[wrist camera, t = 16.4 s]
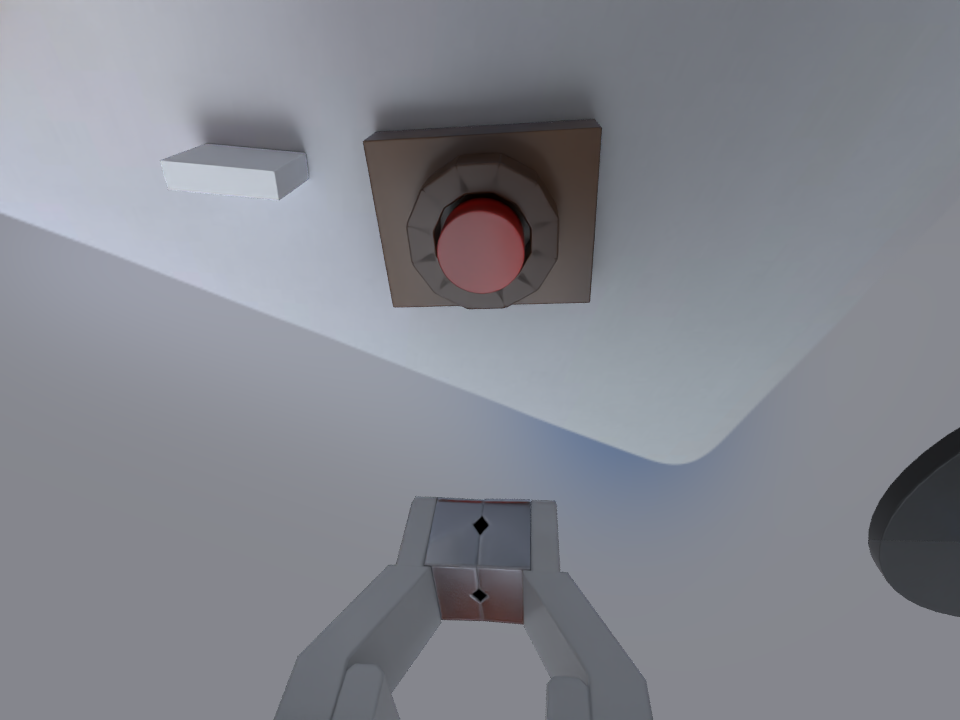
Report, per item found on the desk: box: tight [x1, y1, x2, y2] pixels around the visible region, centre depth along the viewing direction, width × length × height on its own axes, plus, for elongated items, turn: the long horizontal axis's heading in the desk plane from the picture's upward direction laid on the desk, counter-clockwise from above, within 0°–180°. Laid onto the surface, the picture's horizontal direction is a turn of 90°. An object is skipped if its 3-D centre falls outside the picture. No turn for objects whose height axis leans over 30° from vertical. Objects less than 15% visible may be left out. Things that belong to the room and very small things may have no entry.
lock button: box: [437, 198, 525, 294], centre depth 21 cm, size 4×4×2 cm
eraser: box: [160, 144, 309, 201], centre depth 22 cm, size 1×5×4 cm, turn 85°
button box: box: [363, 119, 602, 309], centre depth 23 cm, size 10×8×4 cm
